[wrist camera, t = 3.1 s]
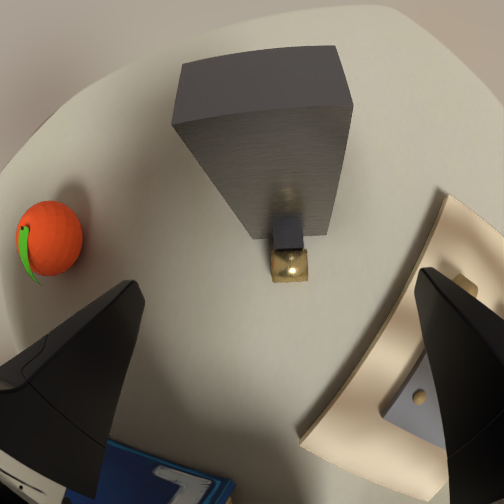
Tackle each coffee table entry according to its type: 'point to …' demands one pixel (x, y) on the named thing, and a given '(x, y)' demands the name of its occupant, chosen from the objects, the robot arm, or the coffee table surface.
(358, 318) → the coffee table surface
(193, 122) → the grey block
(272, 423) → the coffee table surface
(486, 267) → the board
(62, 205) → the clementine
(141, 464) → the book
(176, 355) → the coffee table surface
